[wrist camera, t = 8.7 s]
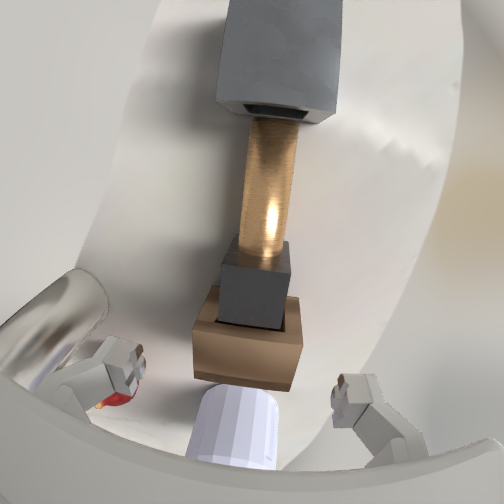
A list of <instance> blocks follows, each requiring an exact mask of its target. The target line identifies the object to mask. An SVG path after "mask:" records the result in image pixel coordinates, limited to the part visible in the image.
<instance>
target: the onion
mask: <svg viewBox="0 0 504 504" xmlns="http://www.w3.org/2000/svg"><path fill="white" fill-rule="evenodd" d="M137 384H138V385H139V380H138V381H137ZM137 388H138V387H137ZM136 391H137V389H136V390H135V392H134V394H133V396H132V397H131V396H128V395H125V394H121V393H118V392H115V393H113V394H112V395H110V396H109V397H107V398H106V399H104V400H103V401H101V402H99V403H98V404H96V405H95V408H96V409H98V408H99V409H101V408H102V407H103V406H105V405H109V406H119V405H122V404H125V403H127V402H129V401H130V400H131V399H132V398H133V397H134V395H135V394H136Z"/></svg>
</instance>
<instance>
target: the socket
mask: <svg viewBox="0 0 504 504" xmlns="http://www.w3.org/2000/svg"><path fill="white" fill-rule="evenodd" d="M219 296H220V287H215V286H212V287H211V290H210V292H209V294H208V296H207V298H206V300H205V303H204V305H203V307H202V309H201V311H200V313H199V316H198V318H197V320H196V322H195V324H194V327H193V329H192V343H193V369H194V378H195V379H200V380H206V381H211V382H216V383H222V384H228V385H234V386H241V387H248V388H256V389H264V390H273V391H284V392H289V391H290V388H291V384H292V381H293V378H294V375H295V372H296V368H297V365H298V362H299V358H300V355H301V351H302V348H303V336H302V326H301V315H300V306H299V298H296V297H288V296H287V298H286V303H285V308H284V313H283V318H282V323H281V328H280V329H274V328H269V330H261V329H254V328H247V327H240V326H233V325H231V323H230V322H224V321H218V315H219Z"/></svg>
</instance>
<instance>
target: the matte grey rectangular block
mask: <svg viewBox="0 0 504 504" xmlns="http://www.w3.org/2000/svg"><path fill="white" fill-rule="evenodd" d="M341 35H342V0H230V2H229V8H228V13H227V19H226V25H225V31H224V37H223V44H222V51H221V57H220V65H219V72H218V79H217V87H216V96H215V100H217V101H218V102H219V103H221V104H222V105H224V106H225V107H226V108H228V109H229V110H230V111H231V112H233V113H234V114H242V115H254V116H265V117H274V118H282V119H290V120H297V121H303V122H310V123H316V124H318V123H320V122H322V121H323V120H325V119H327V118H328V117H330V116H331V115H333V114H335V113H336V104H337V94H338V82H339V70H340V55H341Z"/></svg>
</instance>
